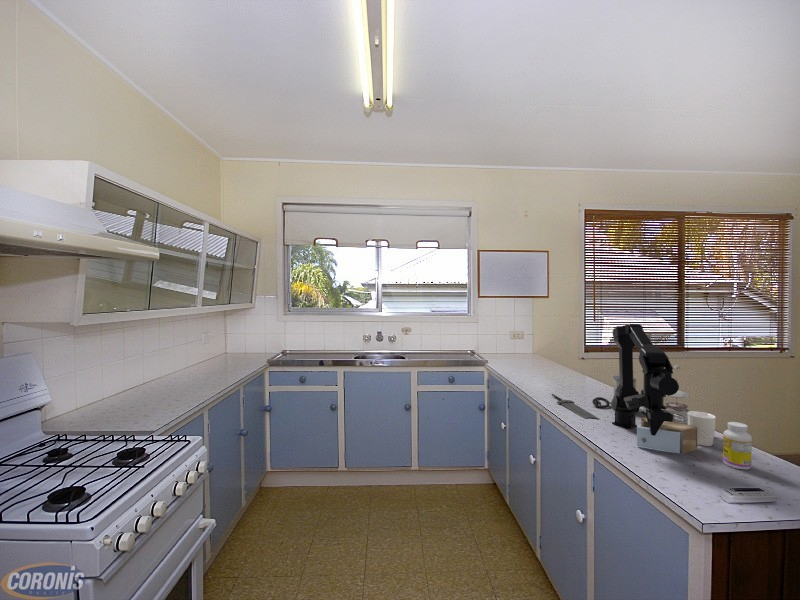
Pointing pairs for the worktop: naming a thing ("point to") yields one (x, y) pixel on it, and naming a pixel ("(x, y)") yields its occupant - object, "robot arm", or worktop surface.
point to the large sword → (575, 408)
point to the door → (660, 440)
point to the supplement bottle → (737, 446)
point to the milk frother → (616, 384)
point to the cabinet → (675, 426)
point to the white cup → (703, 426)
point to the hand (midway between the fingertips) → (653, 435)
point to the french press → (678, 406)
